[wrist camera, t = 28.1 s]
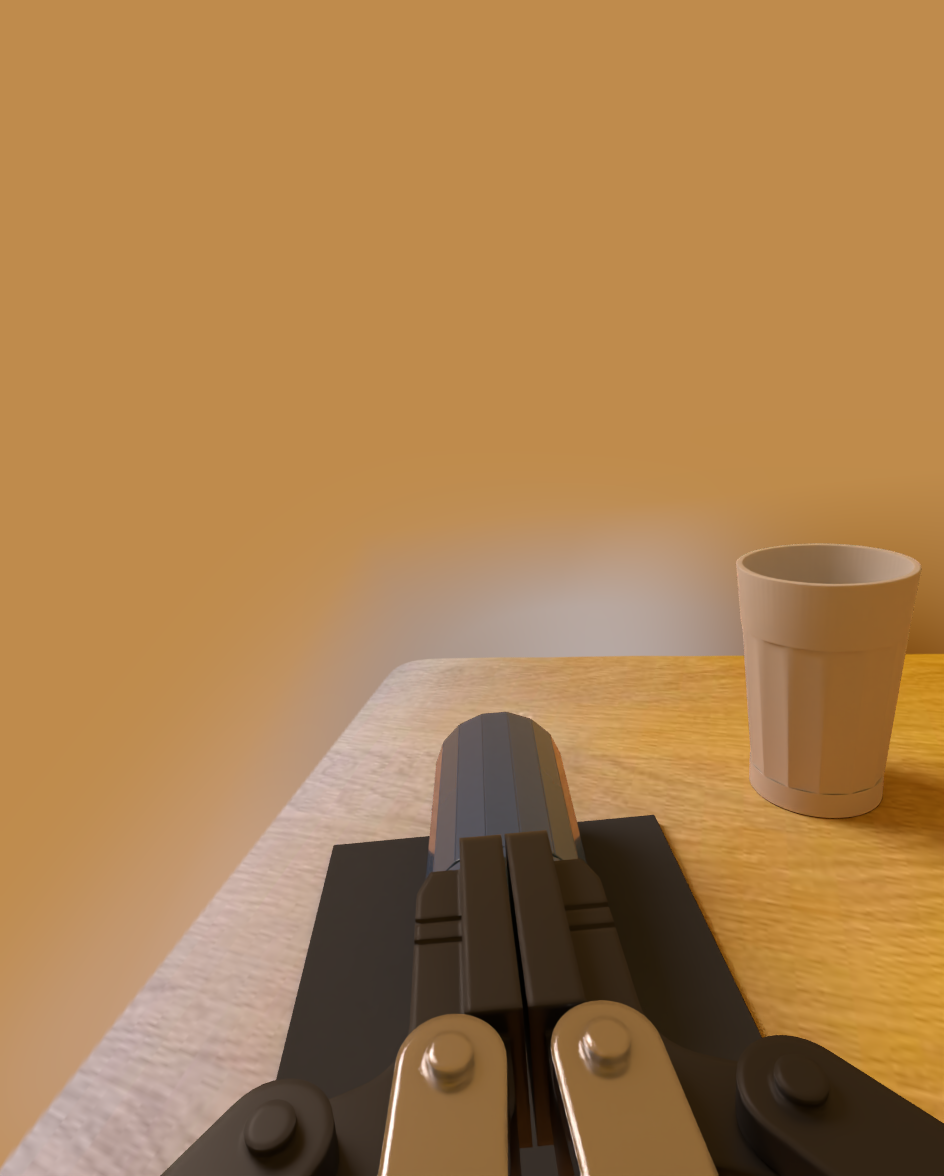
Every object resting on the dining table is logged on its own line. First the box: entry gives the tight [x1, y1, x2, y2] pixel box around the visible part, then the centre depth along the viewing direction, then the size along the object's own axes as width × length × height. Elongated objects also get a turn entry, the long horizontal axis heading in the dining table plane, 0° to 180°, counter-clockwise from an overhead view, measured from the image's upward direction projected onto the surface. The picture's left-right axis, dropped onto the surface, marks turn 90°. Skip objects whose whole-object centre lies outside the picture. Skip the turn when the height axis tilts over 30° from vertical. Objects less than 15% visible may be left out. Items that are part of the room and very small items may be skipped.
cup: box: [736, 544, 921, 818], centre depth 36 cm, size 8×8×12 cm
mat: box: [276, 815, 762, 1176], centre depth 27 cm, size 16×18×1 cm
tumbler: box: [426, 712, 587, 893], centre depth 30 cm, size 6×6×11 cm
